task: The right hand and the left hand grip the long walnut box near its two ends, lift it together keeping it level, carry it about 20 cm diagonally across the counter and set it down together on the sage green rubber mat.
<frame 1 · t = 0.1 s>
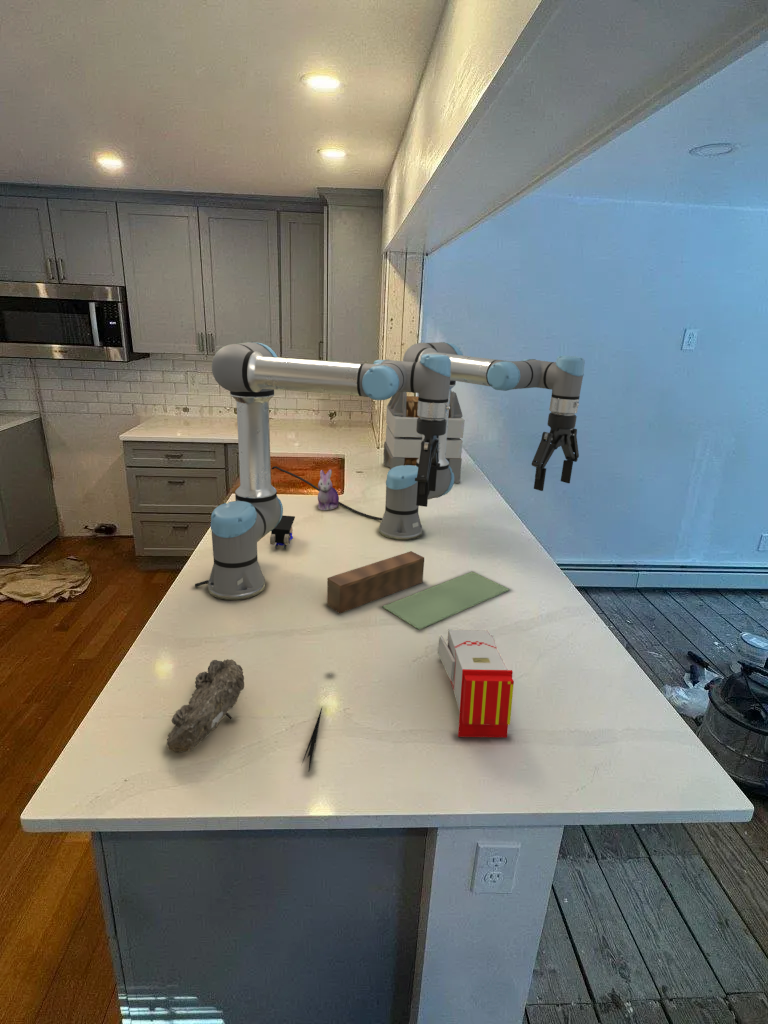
left hand: (426, 497, 150), 28 cm above the counter, fingers open, 13 cm apart
right hand: (552, 485, 166), 28 cm above the counter, fingers open, 13 cm apart
toy: (469, 691, 119), on the counter
walnut box: (377, 593, 158), on the counter
feather: (319, 719, 109), on the counter
figurine character: (282, 543, 188), on the counter
figurine: (327, 507, 223), on the counter
grey slatted box: (419, 473, 275), on the counter
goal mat: (448, 598, 157), on the counter
fossil: (212, 717, 108), on the counter
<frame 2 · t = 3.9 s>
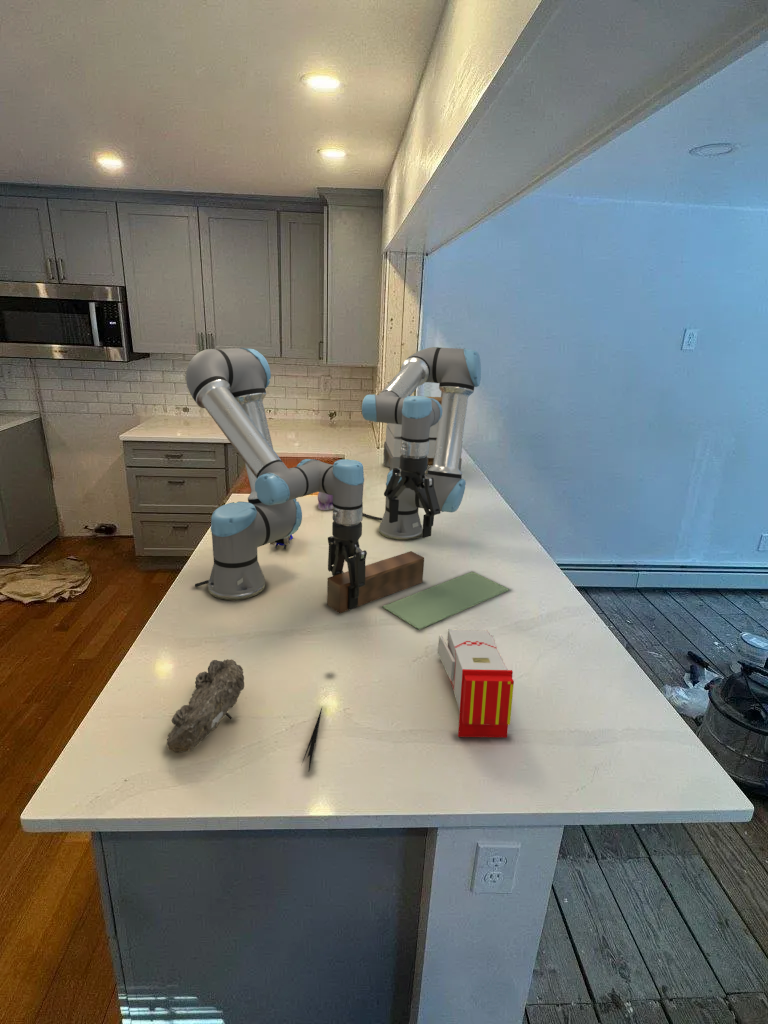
left hand: (345, 602, 151), 1 cm above the counter, fingers closed on walnut box, 6 cm apart
right hand: (409, 529, 159), 17 cm above the counter, fingers open, 13 cm apart
walnut box: (377, 593, 158), on the counter, touching left hand
everything else where it was.
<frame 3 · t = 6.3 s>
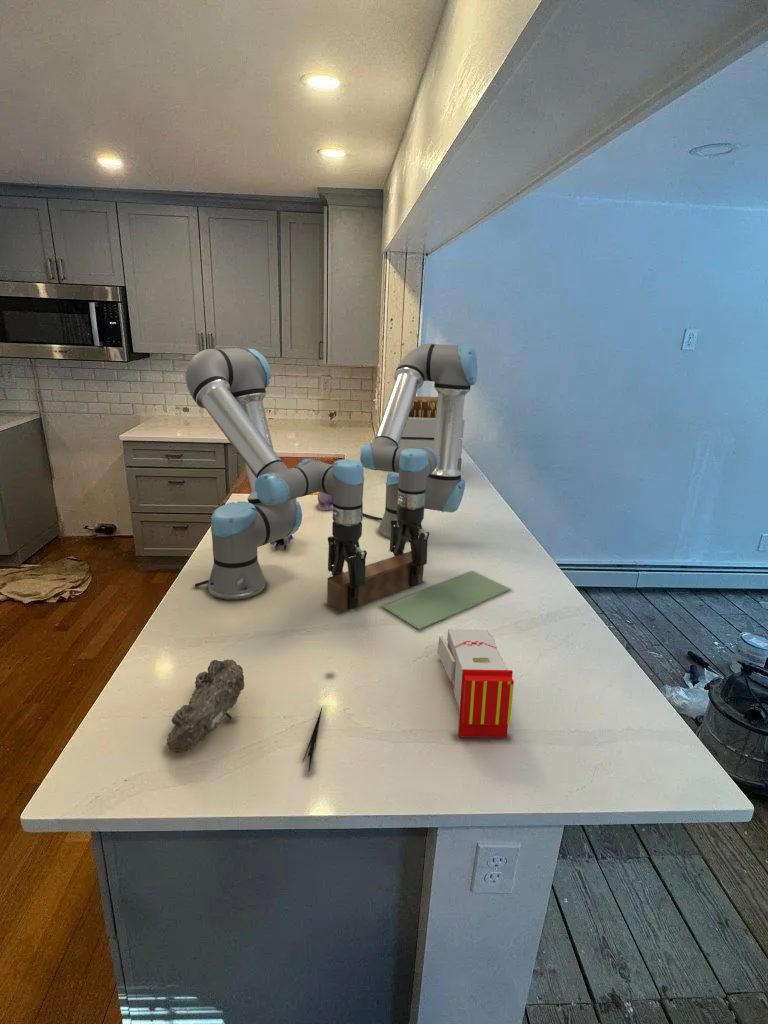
left hand: (345, 602, 151), 1 cm above the counter, fingers closed on walnut box, 6 cm apart
right hand: (406, 580, 164), 1 cm above the counter, fingers closed on walnut box, 6 cm apart
walnut box: (377, 593, 158), on the counter, touching right hand, left hand
everything else where it was.
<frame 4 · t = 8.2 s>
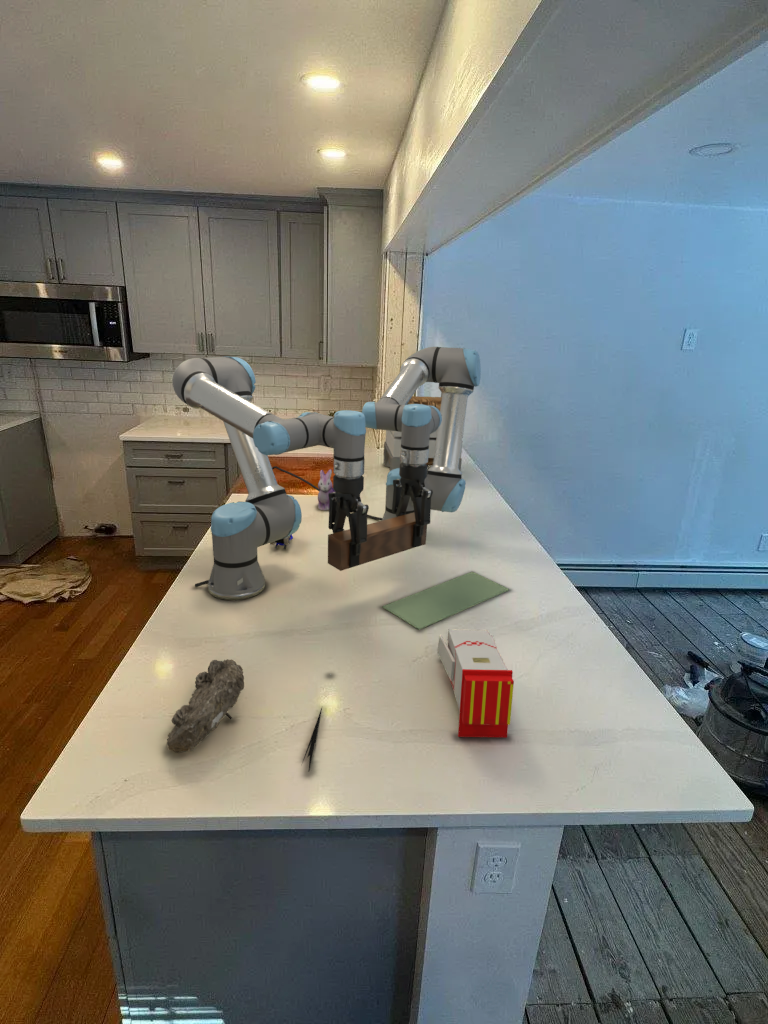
left hand: (346, 561, 147), 13 cm above the counter, fingers closed on walnut box, 6 cm apart
right hand: (408, 542, 160), 13 cm above the counter, fingers closed on walnut box, 6 cm apart
walnut box: (379, 553, 154), point 12 cm above the counter, touching right hand, left hand
everything else where it was.
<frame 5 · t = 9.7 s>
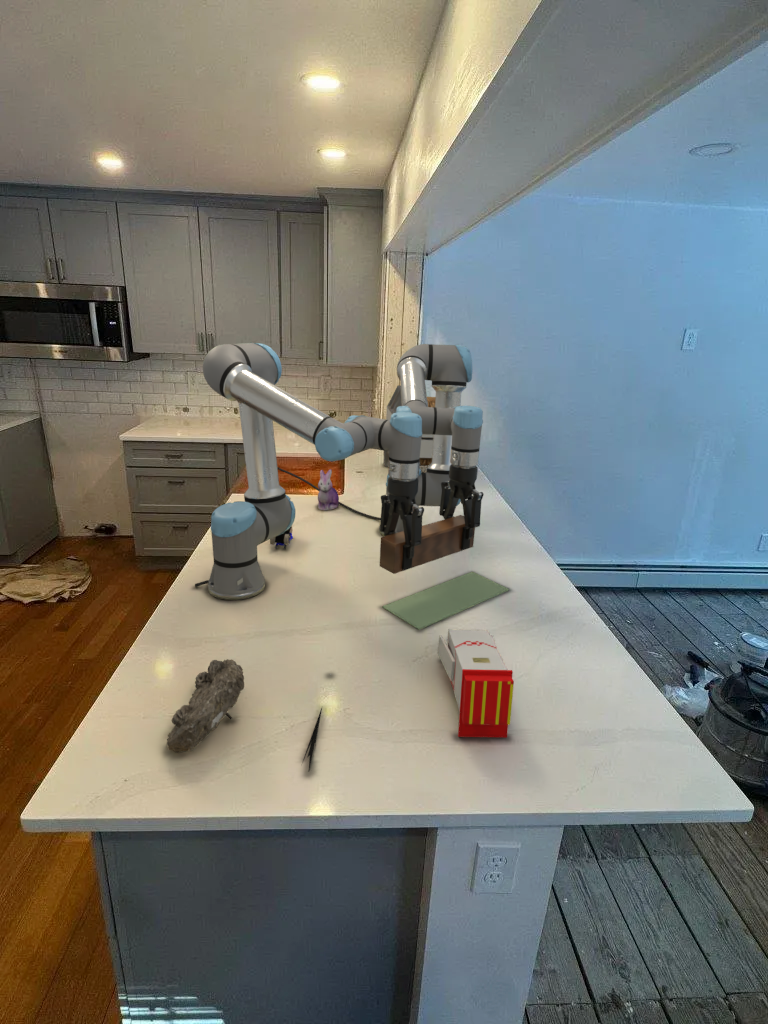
left hand: (398, 564, 145), 13 cm above the counter, fingers closed on walnut box, 6 cm apart
right hand: (456, 544, 159), 13 cm above the counter, fingers closed on walnut box, 6 cm apart
walnut box: (428, 556, 153), point 12 cm above the counter, touching right hand, left hand
everything else where it was.
when the left hand's fingers open (2 cm above the counter, at t = 12.9 s): walnut box drops 1 cm, resting on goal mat.
when the right hand's fingers open (2 cm above the counter, at t = 12.9 s): walnut box drops 1 cm, resting on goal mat.
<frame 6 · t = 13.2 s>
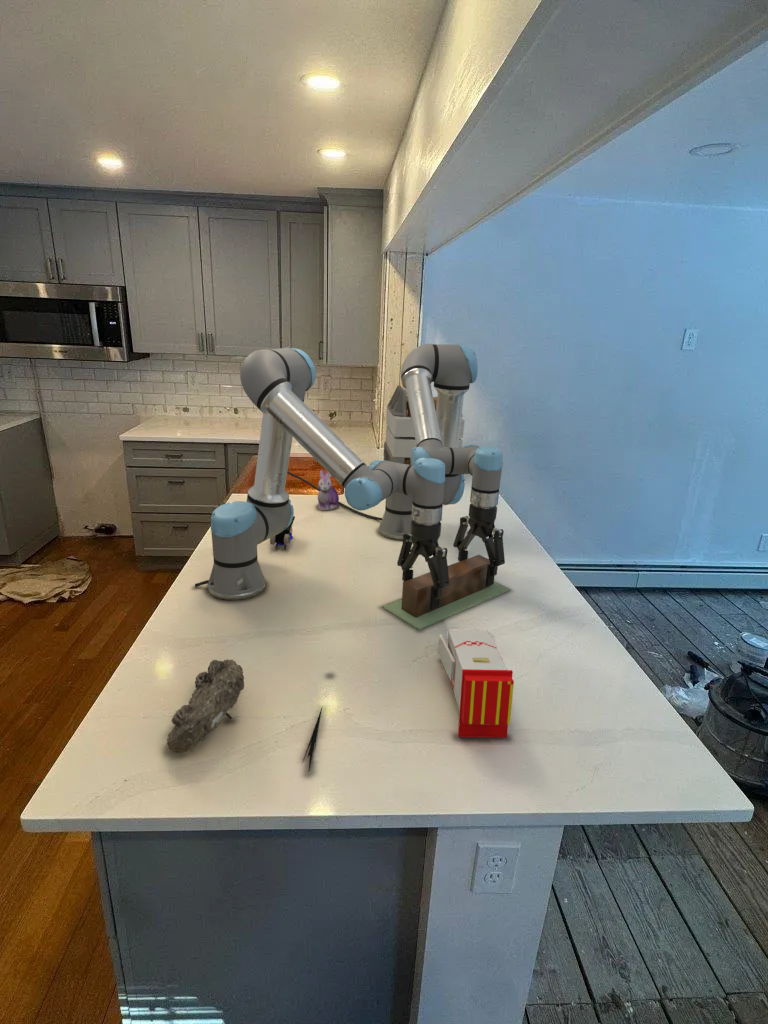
left hand: (420, 600, 149), 3 cm above the counter, fingers open, 9 cm apart
right hand: (475, 578, 162), 3 cm above the counter, fingers open, 9 cm apart
walnut box: (448, 597, 157), resting on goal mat
everything else where it was.
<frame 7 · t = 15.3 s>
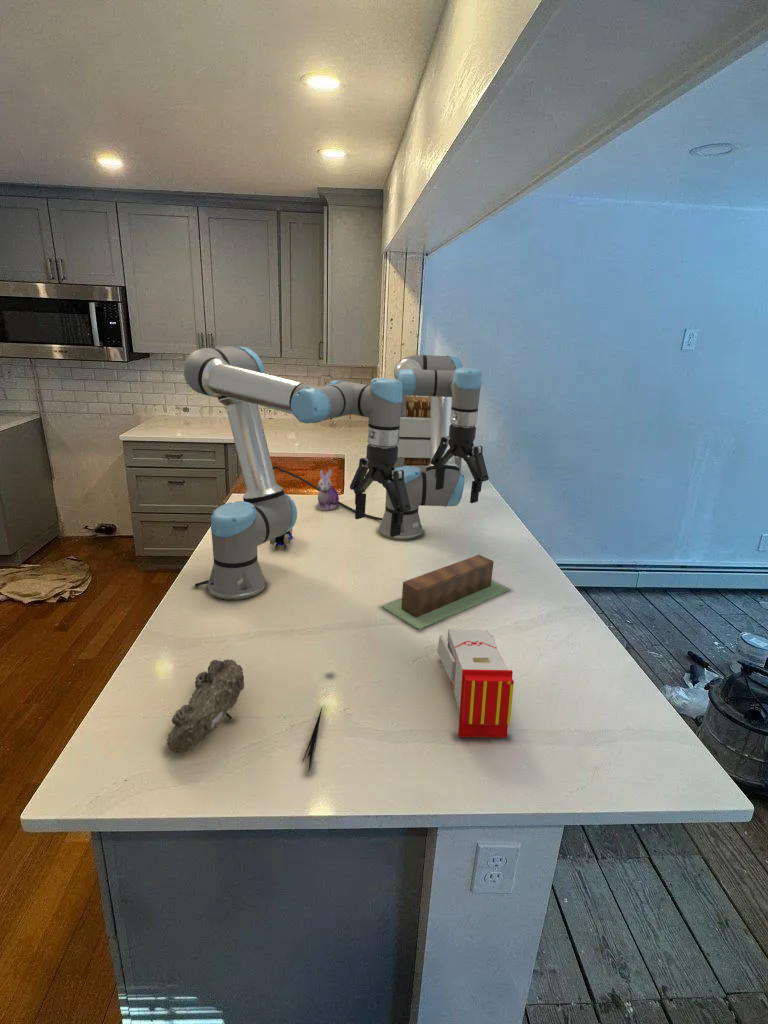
left hand: (376, 526, 143), 23 cm above the counter, fingers open, 13 cm apart
right hand: (456, 495, 168), 23 cm above the counter, fingers open, 13 cm apart
nothing on the counter moved.
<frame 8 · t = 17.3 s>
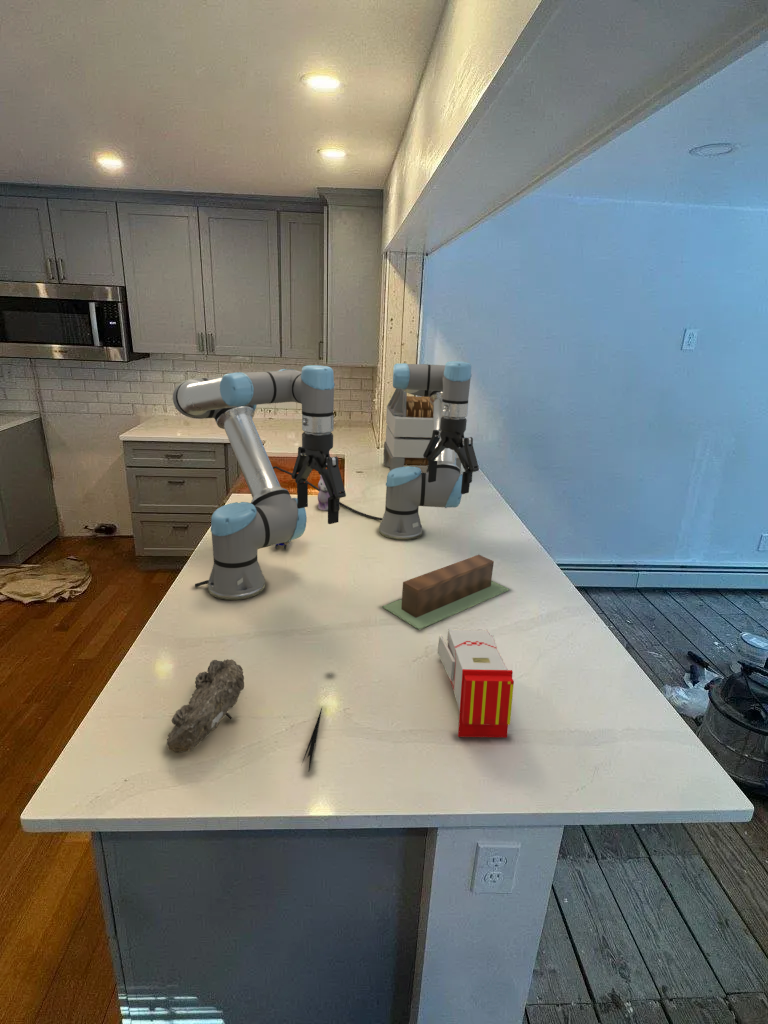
left hand: (317, 514, 144), 25 cm above the counter, fingers open, 13 cm apart
right hand: (447, 487, 171), 25 cm above the counter, fingers open, 13 cm apart
nothing on the counter moved.
at the end: walnut box inside the target area (0.1 cm from its centre), resting on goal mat; both hands held the walnut box at the same time; walnut box never tilted more than 1° during the clip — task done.
